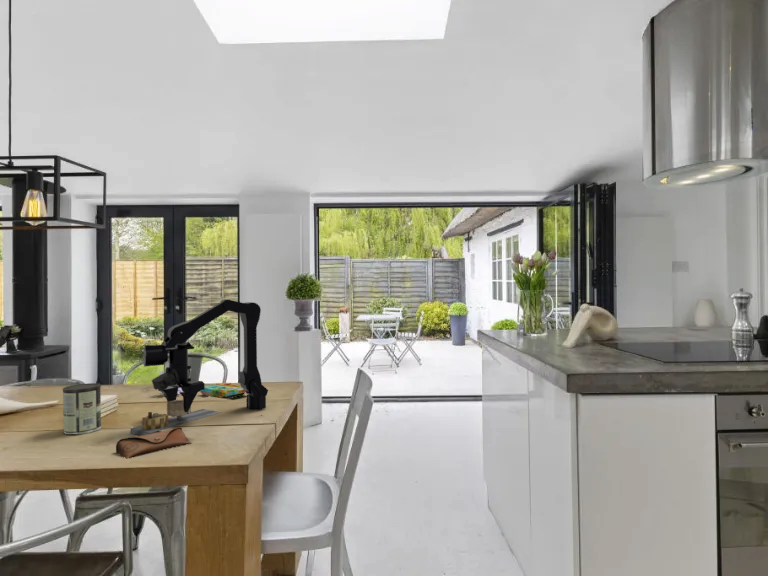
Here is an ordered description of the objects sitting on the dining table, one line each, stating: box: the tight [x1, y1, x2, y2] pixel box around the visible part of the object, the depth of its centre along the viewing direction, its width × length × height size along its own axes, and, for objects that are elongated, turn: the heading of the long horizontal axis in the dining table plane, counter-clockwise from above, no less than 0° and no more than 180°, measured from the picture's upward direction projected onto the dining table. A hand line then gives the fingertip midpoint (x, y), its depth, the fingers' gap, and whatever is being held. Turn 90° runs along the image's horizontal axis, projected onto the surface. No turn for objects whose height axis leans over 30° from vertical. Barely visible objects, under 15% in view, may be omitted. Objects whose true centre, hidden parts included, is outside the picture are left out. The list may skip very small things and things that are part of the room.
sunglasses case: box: [115, 427, 192, 460], centre depth 130 cm, size 18×7×7 cm
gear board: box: [130, 408, 222, 436], centre depth 153 cm, size 10×27×6 cm, turn 151°
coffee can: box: [62, 382, 102, 435], centre depth 148 cm, size 10×10×14 cm
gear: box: [166, 399, 192, 418], centre depth 153 cm, size 7×7×4 cm
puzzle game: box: [199, 382, 246, 400], centre depth 196 cm, size 12×5×20 cm
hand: (179, 410), depth 153 cm, fingers closed on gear, 7 cm apart
